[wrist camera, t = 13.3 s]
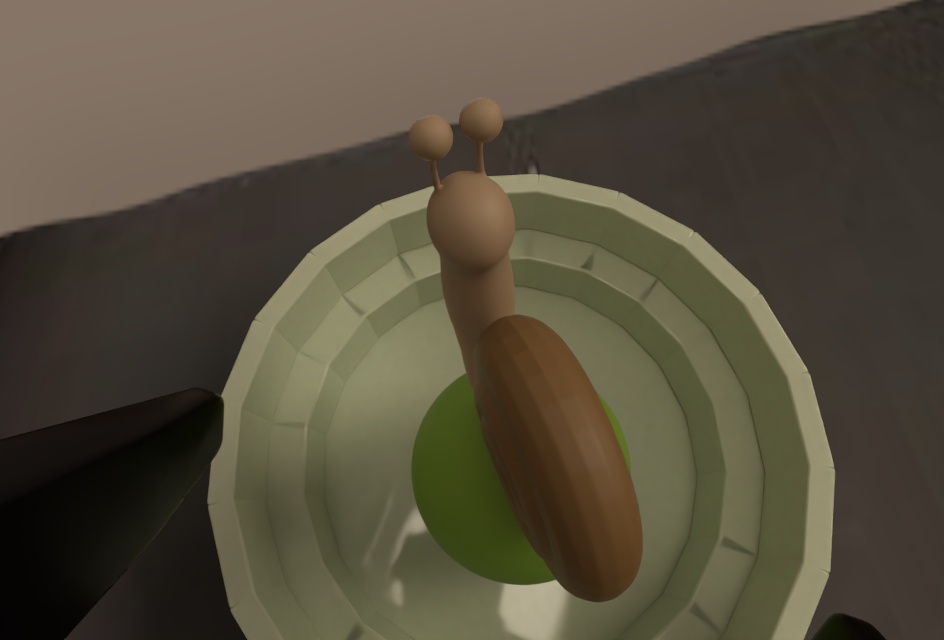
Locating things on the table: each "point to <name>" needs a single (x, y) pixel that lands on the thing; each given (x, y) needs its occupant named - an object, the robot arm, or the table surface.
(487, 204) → the snail figurine
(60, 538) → the robot arm
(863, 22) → the table surface
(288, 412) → the basin
